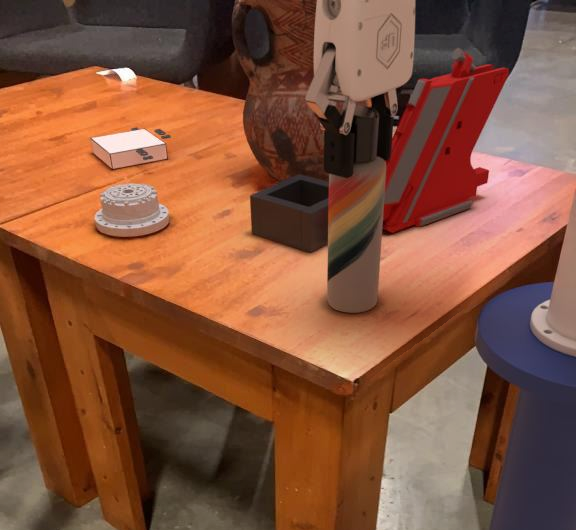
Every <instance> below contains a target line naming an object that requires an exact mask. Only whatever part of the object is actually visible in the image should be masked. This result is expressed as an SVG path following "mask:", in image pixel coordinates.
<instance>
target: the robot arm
mask: <svg viewBox="0 0 576 530" xmlns="http://www.w3.org/2000/svg"><path fill="white" fill-rule="evenodd" d="M415 36H416V0H317V5H316V17H315V32H314V78H313V80H312V82H311V85H310V87H309V89H308V91H307V94H306V98H305V100H306V103H307V104H308V105H309V107H310V108H311V109H312V110H313V112H315V116H316V117H317V119H318V120H319V122H320V128H321V129H322V130H324V171H325V172H326V173H328V174H332V175H336V176H340V177H344V178H349V177H351V176H352V175H353V167H354V141H355V133H351V132H350V129H351V125H352V120H353V115H354V111H355V106H356V102H357V101H363V100H366V99H367V103H368V107H370V108H373V109H375V110H376V111H377V112H378V113H379V116H380V118H379V134H378V150H377V156H378V157H381V158H382V159H384V160H385V161H386V160H388V159H390V158H391V149H392V138H393V136H394V134H393V133H394V118H395V117H394V116H395V115H396V114H397V113H398V108H399V107H398V100H399V98H400V95H401V94H402V92H403V89H404V85H405V84H407V83H408V81H410V79H411V78H412V75H413V69H414V58H415V56H414V55H415ZM340 90H341V91H342V93H343V94H339V93H337V91H340ZM337 101H338V102H343V103H344V105H343V110H342V114H340V113H339V111H338V110H337V108H336V102H337ZM562 242H563V243H562V246H561V251H560V255H559V260H558V264H557V268H556V272H555V278H554V281H553V282H554V285H553V290H552V294H551V298H550V300H548V301H545V302H543V303H542V304H540V305H538V306H537V307H536V308H535V309H534V311H533V312H532V315H531V320H530V329H531V331H532V333H533V334H534V335H535V336H536V338H537V339H538V340H539V341H541V342H542V343H543V344H545V345H546V346H548V347H550V348H552V349H554V350H556V351H558V352H561V353H563V354H566V355H570V356H573V357H576V188H575V189H574V193H573V198H572V202H571V206H570V211H569V215H568V221H567V223H566V228H565V232H564V238H563V241H562Z"/></svg>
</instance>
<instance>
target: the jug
mask: <svg viewBox="0 0 576 530" xmlns="http://www.w3.org/2000/svg"><path fill="white" fill-rule="evenodd" d="M316 5H317V0H235V1H234V5H233V9H232V15H231V30H232V35H231V36H232V42H233V46H234V50H235V53H236V56H237V59H238V62H239V63H240V66H241V67H242V70H243V72H244V74H245V75H246V76H247V78H248V79H249V85H248V91H247V94H246V97H245V101H244V104H243V110H242V124H243V126H242V127H243V131H244V132H243V133H244V135H245V138H246V142H247V144H248V146H249V148H250V150H251V153H252V155H253V156H254V159H255V160H256V162H257V163H258V164H259V166H260V167H261V168H262V169H263V170H264V171H265V172H266V174H267V175H268V176H269V177H270V178H271V179H272V180H274V181H276V182H277V183H280V182H282V181H284V180H287V179H289V178H291V177H294V176H296V175H298V174H301V175H305V176H308V177H312V178H316V179H320V180H323V181H327V182H329V174H328V173H326V172H325V171H324V130H322V129H321V128H320V122H319V120H318V119H317V117H316V116H315V112H313V110H312V109H311V108H310V107H309V105H308V104H307V103H306V100H305V98H306V94H307V91H308V89H309V87H310V85H311V82H312V80H313V78H314V32H315V17H316ZM253 9H254V10H258V11H259V12H260V13H261V15H262V17H263V20H264V24H265V26H266V31H267V36H268V50H267V52H266V53H265V54H264V55H263V56H260V57H257V58H256V57H254V56H252V54H251V51H250V49H249V46H248V41H247V37H246V33H245V32H246V31H245V27H246V19H247V16H248V13H250V10H253ZM337 93H339V94H343V93H342V91H341V90H340V91H337ZM343 105H344V103H343V102H338V101H337V102H336V108H337V110H338V111H339V113H340V114H342V110H343ZM356 106H365V107H368V103H367V99H366V100H363V101H357V102H356Z"/></svg>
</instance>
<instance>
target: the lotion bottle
mask: <svg viewBox="0 0 576 530" xmlns="http://www.w3.org/2000/svg"><path fill="white" fill-rule="evenodd" d="M379 118H380V116H379V113H378V112H377V111H376V110H375V109H373V108H370V107H365V106H355V111H354V115H353V120H352V125H351V129H350V132H351V133H355V141H354V167H353V175H352V176H351V177H349V178H344V177H340V176H336V175H332V174H329V211H328V244H327V275H326V276H327V278H326V298H327V303H328V305H329V306H330V307H331V308H332V309H334V310H336V311H338V312H342V313H348V314H359V313H364V312H367V311H370V310H372V309H373V308H374V307H375V306H376V305H377V303H378V297H379V284H380V269H381V253H382V252H381V251H382V238H383V229H382V225H383V210H384V195H385V179H386V162H385V161H384V159H382V158H381V157H378V156H377V150H378V134H379Z"/></svg>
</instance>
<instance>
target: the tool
mask: <svg viewBox="0 0 576 530" xmlns="http://www.w3.org/2000/svg"><path fill="white" fill-rule="evenodd" d="M451 59H452V60H454V63H453V65H452V67H451V68H452V71H451V73H448V74H444V75H443V74H442V75H440V76H435V77H432V78H430V79H428V78H424V77H423V78H419V79H418V80H417V83H416V84H415V86H414V89H413V91H412V93H411V96H410V98H409V100H408V102H407V104H406V107H405V109H404V111H403V113H402V115H401V117H400V120H399V122H398V125H397V127H396V129H395V131H394V132H393V133H394V134H393V135H392V149H391V158H390V159H388V160H386V161H385V160H384V161H385V162H386V179H385V195H384V210H383V225H382V230H385V231H387V232H390V233H391V234H394V233H395V232H399V231H402V230H403V229H406V228H409V227H412V226H415V227H423V226H426V225H428V224H430V223H434V222H436V221H439V220H441V219H445V218H447V217H450V216H453V215H455V214H458V213H461V212H463V211H466V210H469V209H471V208H472V203H473V200H472V199H471V198H474V197H476V196H477V191H478V187H481V186H483V185H486V184H488V182H489V175H490V170H489V169H487V168H484V167H481V166H478V167H476V168H474V167H473V165H472V162H471V160H472V159H471V158H472V153H473V151H474V149H475V147H476V145H477V142H478V140H479V139H480V136H481V134H482V132H483V130H484V128H485V126H486V123H487V121H488V120H489V117H490V115H491V113H492V111H493V109H494V106H495V105H496V103H497V100H498V98H499V97H500V94H501V92H502V90H503V88H504V86H505V85H506V82H507V80H508V78H509V74H510V70H509V68H508V67H499V68H496V69H495V66H494V65H493V64H489V63H488V64H483V65H479V66H476V65H475V64H474V63H473V61H474V58H473V57H472V56H471V55H470V54H468V53H466V52H465V51H463V49H461V48H460V47H456V48H455V49H454V50H453V51H452V54H451Z"/></svg>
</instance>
